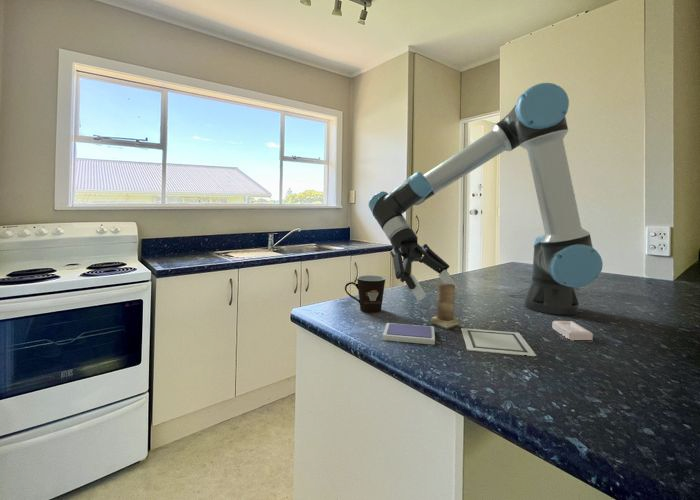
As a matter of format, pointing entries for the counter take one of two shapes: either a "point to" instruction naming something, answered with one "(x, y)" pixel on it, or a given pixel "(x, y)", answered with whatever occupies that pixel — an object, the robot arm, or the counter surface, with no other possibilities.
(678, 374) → the counter surface
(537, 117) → the robot arm
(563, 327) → the soap bar
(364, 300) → the coffee mug
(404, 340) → the ink pad
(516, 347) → the sheet
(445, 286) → the stamp
